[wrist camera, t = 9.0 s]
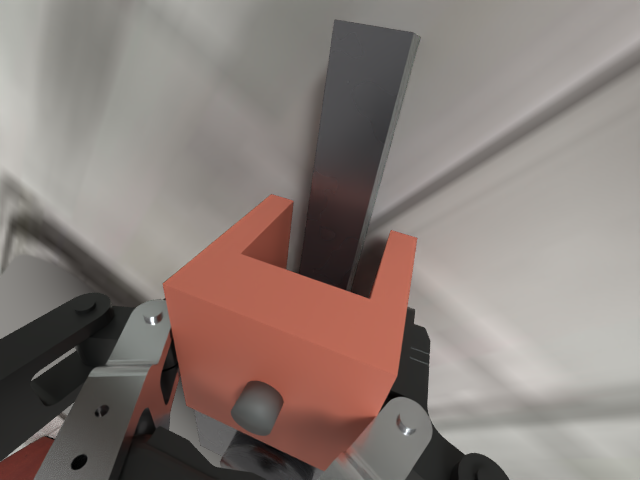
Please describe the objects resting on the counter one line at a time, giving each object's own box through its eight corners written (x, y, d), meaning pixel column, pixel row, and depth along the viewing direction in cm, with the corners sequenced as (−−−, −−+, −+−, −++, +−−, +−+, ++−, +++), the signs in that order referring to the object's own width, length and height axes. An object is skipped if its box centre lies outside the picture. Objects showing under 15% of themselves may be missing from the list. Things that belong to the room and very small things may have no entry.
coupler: (271, 11, 10) (61, -37, 5) (525, 54, 9) (675, 60, 3) (256, 354, 21) (187, 466, 15) (369, 401, 19) (338, 545, 14)
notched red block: (271, 194, 13) (137, 305, 7) (417, 237, 11) (392, 411, 6) (264, 297, 16) (170, 427, 10) (376, 340, 15) (337, 510, 9)
